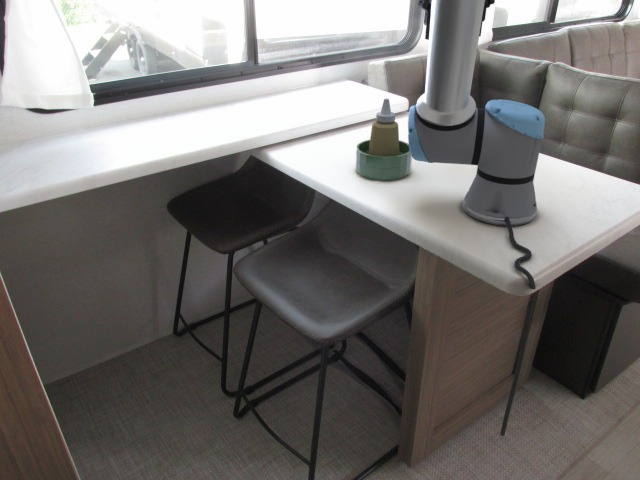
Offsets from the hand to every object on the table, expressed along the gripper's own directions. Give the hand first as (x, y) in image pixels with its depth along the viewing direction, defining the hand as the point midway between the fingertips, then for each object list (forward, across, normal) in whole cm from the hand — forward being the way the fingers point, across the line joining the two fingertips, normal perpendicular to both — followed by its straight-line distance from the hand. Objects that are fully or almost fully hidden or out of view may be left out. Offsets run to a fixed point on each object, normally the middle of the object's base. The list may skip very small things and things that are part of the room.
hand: (453, 37), depth 127 cm
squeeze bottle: (+30, +20, +4) cm, 36 cm away
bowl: (+31, +20, +4) cm, 37 cm away
